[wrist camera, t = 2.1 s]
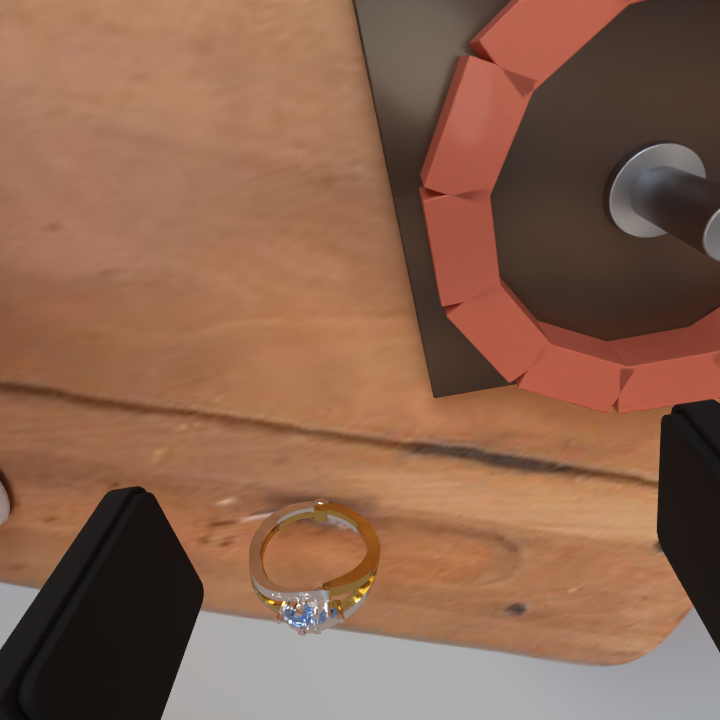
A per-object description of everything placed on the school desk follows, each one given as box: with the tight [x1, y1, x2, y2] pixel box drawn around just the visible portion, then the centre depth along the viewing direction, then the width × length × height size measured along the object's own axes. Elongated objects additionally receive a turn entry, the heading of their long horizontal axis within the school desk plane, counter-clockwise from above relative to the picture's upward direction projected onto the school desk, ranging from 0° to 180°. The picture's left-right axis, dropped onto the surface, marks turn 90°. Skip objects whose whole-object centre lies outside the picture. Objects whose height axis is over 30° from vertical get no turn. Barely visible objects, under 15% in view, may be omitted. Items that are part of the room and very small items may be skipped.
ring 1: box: [249, 498, 380, 636], centre depth 28 cm, size 7×3×8 cm, turn 84°
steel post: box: [604, 141, 720, 262], centre depth 18 cm, size 4×4×6 cm
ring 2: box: [419, 0, 720, 414], centre depth 20 cm, size 18×18×2 cm
